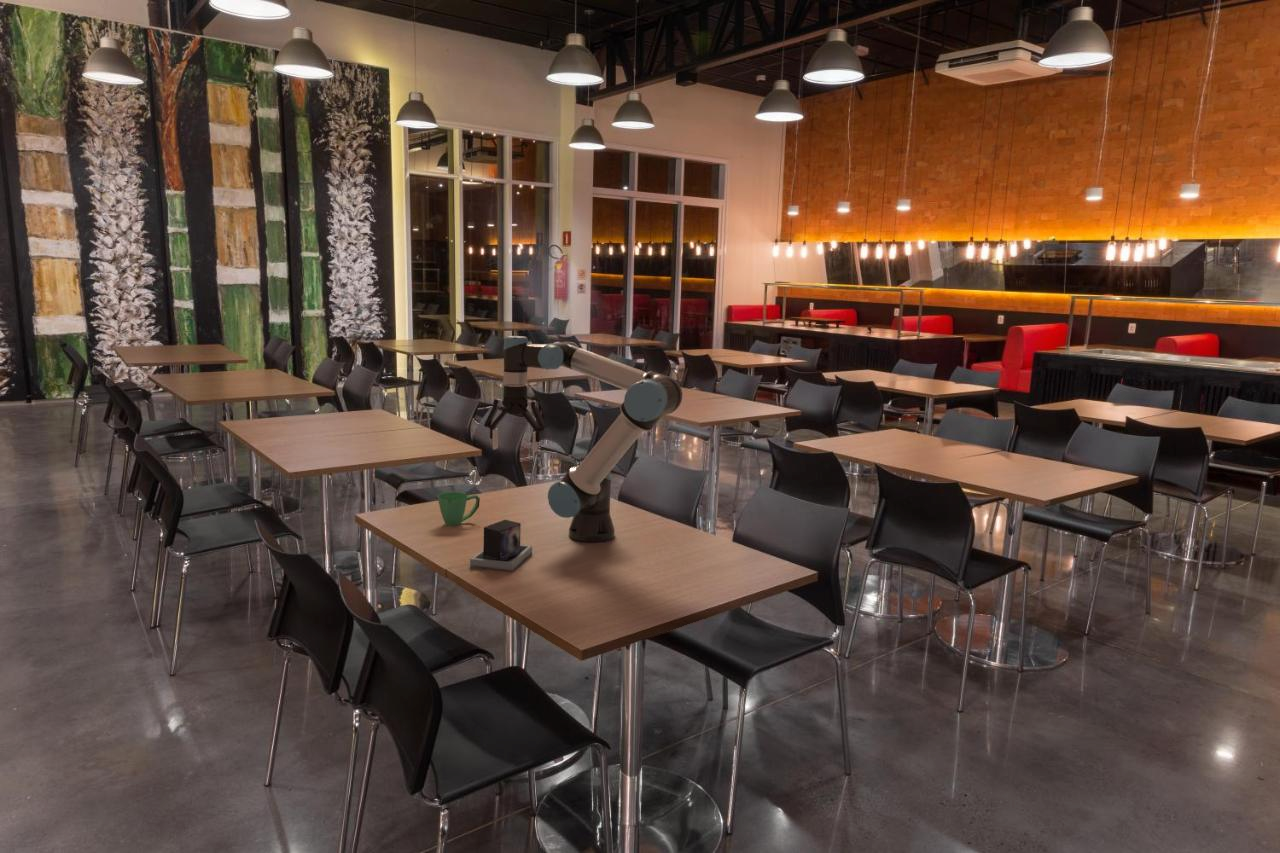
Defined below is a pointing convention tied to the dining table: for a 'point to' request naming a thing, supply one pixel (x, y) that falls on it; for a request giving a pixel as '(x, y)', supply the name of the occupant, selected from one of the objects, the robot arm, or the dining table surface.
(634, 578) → the dining table surface
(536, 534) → the dining table surface
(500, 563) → the tray
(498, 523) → the small box
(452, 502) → the mug
